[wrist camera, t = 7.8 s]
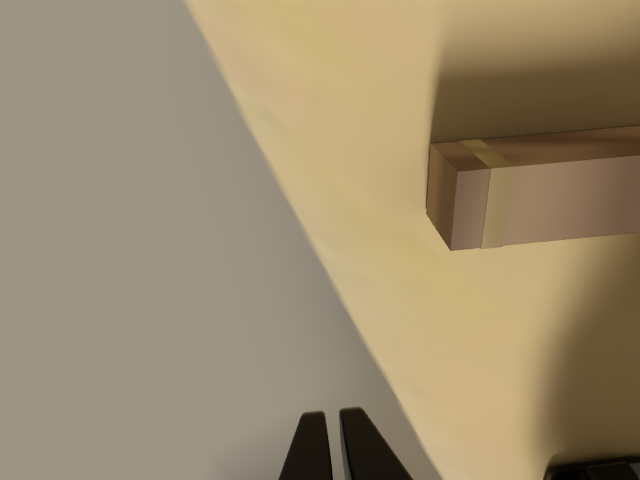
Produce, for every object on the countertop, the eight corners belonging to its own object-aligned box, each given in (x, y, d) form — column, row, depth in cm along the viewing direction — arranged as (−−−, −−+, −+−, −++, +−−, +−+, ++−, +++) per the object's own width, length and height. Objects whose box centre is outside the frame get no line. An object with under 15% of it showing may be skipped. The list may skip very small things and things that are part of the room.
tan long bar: (426, 214, 19) (450, 251, 17) (430, 143, 18) (458, 171, 15) (770, 182, 20) (846, 213, 17) (802, 110, 18) (891, 132, 16)
